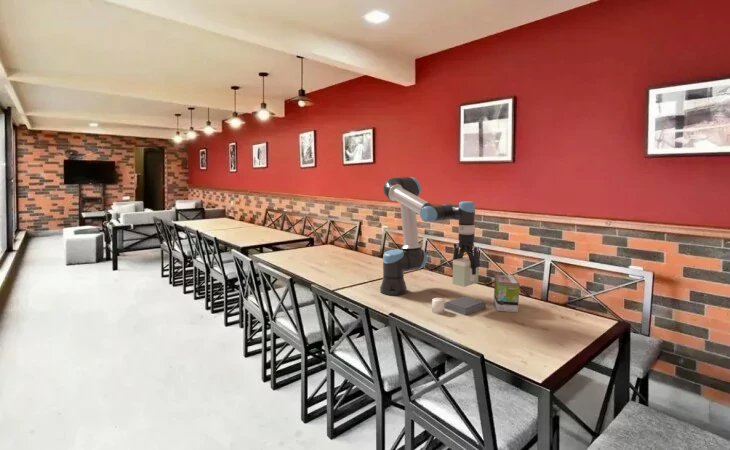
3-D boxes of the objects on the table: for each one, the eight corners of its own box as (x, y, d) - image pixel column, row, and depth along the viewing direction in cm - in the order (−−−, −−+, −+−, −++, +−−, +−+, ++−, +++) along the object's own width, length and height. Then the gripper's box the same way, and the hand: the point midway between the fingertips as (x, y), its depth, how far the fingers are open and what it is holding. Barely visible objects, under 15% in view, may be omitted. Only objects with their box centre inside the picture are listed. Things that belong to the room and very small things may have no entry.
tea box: (518, 312, 191) (520, 282, 189) (496, 311, 193) (497, 281, 191) (513, 302, 205) (514, 274, 203) (493, 301, 207) (494, 273, 205)
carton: (452, 283, 195) (452, 260, 194) (466, 279, 202) (467, 256, 200) (464, 286, 190) (464, 262, 188) (478, 282, 197) (478, 259, 195)
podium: (444, 307, 198) (444, 302, 198) (464, 301, 208) (464, 295, 207) (465, 315, 188) (465, 309, 188) (485, 307, 198) (485, 301, 197)
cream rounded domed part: (429, 311, 194) (429, 299, 193) (437, 308, 197) (437, 297, 197) (438, 314, 189) (438, 302, 188) (447, 311, 193) (447, 300, 192)
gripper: (445, 231, 198) (444, 276, 201) (479, 236, 183) (477, 284, 186) (455, 230, 203) (454, 274, 206) (488, 234, 187) (487, 281, 190)
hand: (465, 279), depth 196 cm, fingers closed on carton, 7 cm apart
